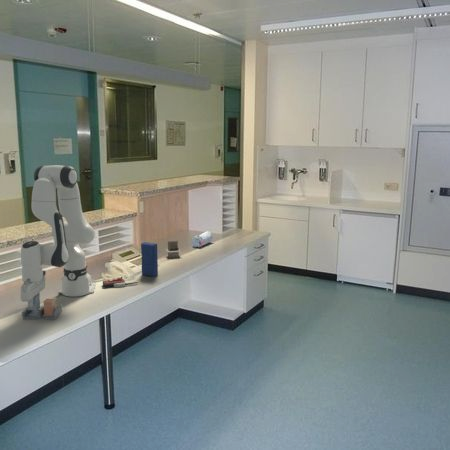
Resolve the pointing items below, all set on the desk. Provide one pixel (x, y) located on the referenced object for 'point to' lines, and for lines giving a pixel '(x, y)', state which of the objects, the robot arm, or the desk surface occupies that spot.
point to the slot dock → (41, 314)
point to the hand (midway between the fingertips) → (34, 303)
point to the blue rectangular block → (149, 259)
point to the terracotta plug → (49, 306)
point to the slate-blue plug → (35, 303)
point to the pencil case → (202, 239)
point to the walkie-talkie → (116, 282)
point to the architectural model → (173, 249)
